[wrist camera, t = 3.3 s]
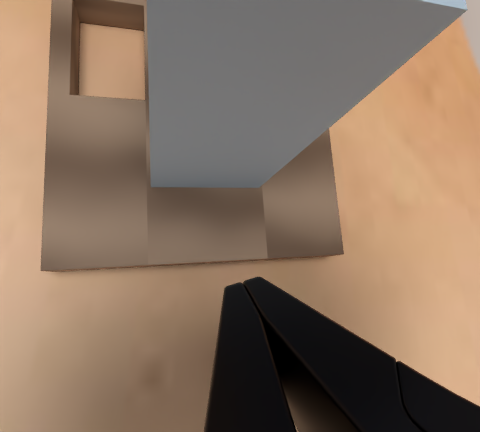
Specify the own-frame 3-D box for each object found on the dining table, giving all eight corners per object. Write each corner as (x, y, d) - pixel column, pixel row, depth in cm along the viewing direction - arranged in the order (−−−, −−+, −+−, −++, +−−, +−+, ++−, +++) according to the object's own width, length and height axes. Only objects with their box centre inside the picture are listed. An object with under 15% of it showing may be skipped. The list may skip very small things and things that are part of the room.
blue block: (258, 187, 19) (467, 9, 6) (150, 187, 17) (145, -53, 5) (251, 92, 20) (418, -223, 7) (148, 83, 18) (140, -338, 6)
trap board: (326, 256, 21) (406, 246, 14) (53, 271, 17) (-12, 267, 10) (292, -53, 25) (342, -171, 19) (66, -102, 21) (26, -278, 14)
